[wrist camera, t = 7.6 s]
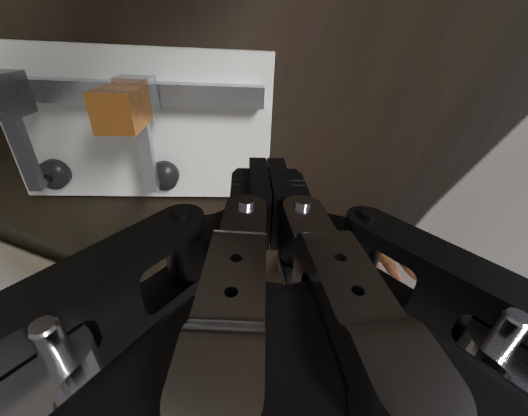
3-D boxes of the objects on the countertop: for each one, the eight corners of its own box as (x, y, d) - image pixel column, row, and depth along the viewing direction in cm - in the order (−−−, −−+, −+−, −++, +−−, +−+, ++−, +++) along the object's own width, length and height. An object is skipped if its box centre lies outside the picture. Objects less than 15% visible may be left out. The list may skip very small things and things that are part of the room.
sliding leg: (123, 73, 27) (81, 87, 20) (157, 74, 28) (127, 89, 20) (143, 184, 33) (116, 226, 26) (171, 184, 33) (151, 226, 26)
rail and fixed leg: (-13, 65, 28) (-128, 80, 19) (263, 76, 30) (272, 94, 21) (30, 175, 34) (-44, 225, 25) (259, 178, 36) (265, 226, 27)
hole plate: (-22, 37, 28) (-46, 38, 26) (273, 51, 30) (276, 52, 28) (36, 189, 36) (22, 200, 34) (266, 191, 38) (267, 202, 36)
